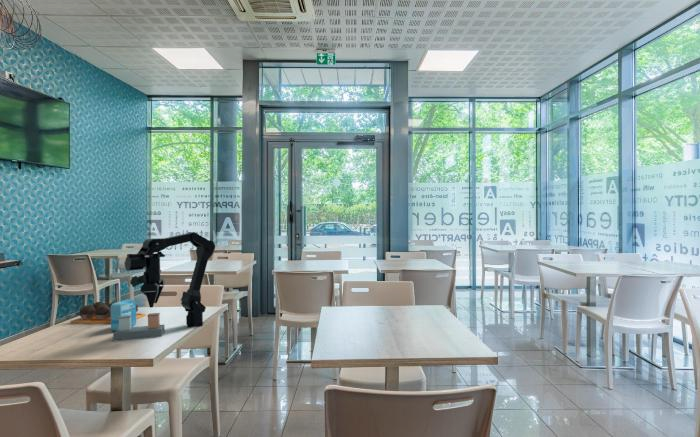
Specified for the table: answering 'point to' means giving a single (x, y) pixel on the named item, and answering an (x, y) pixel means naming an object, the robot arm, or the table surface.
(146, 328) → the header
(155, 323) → the brown rectangular block
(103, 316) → the chocolates on board
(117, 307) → the data package
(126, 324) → the grey plug
